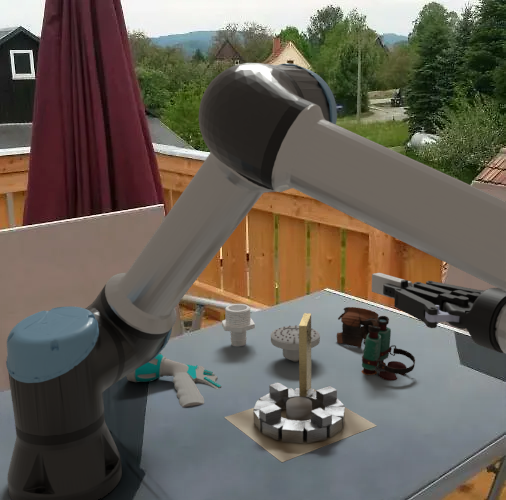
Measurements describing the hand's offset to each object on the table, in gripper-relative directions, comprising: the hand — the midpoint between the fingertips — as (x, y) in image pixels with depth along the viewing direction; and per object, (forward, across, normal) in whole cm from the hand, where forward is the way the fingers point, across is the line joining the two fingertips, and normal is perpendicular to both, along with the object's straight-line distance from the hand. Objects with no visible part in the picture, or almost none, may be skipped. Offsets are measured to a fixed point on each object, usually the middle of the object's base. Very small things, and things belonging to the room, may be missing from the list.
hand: (375, 282), depth 99 cm
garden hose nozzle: (+31, -18, -24) cm, 43 cm away
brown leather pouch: (+28, +24, -24) cm, 44 cm away
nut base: (+7, -9, -24) cm, 26 cm away
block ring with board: (+8, -8, -22) cm, 25 cm away
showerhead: (+26, +5, -24) cm, 36 cm away
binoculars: (+12, +16, -24) cm, 31 cm away
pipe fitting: (+42, +2, -24) cm, 48 cm away
